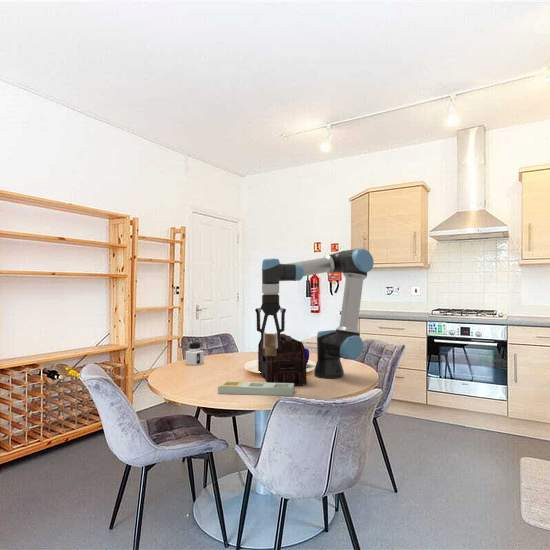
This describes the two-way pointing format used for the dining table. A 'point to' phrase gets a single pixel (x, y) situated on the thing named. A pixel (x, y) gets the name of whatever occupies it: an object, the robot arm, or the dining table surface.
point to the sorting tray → (256, 388)
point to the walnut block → (270, 345)
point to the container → (194, 354)
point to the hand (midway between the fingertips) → (270, 347)
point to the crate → (284, 362)
